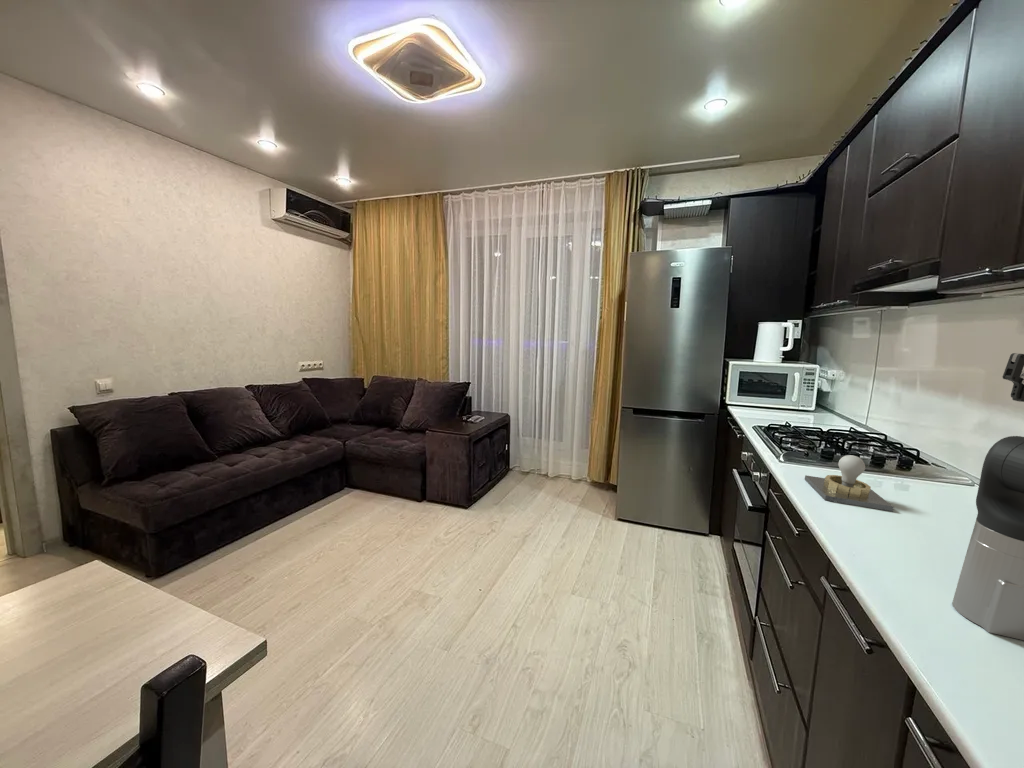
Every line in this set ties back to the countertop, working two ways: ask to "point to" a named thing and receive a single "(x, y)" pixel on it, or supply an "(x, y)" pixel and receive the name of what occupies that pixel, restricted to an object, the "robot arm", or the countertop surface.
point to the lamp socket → (847, 492)
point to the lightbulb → (850, 469)
